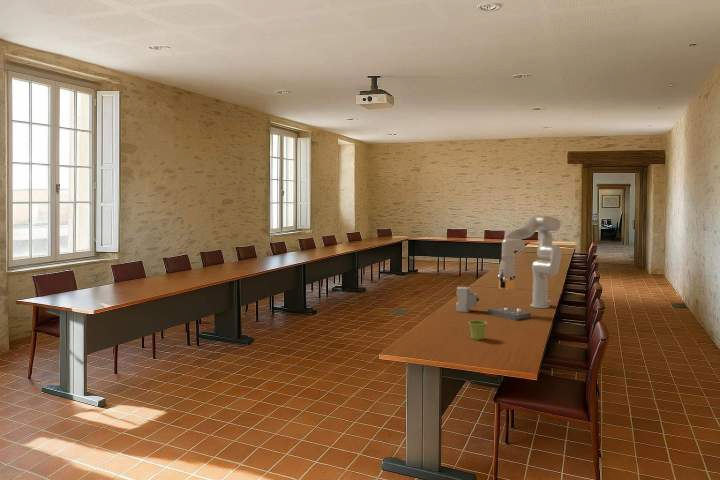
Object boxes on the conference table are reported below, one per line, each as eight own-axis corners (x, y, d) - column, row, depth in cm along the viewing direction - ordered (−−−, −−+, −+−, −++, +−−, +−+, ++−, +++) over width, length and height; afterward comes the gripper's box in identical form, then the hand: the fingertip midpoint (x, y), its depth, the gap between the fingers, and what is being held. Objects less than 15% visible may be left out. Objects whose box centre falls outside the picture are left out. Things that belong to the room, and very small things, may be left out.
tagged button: (505, 313, 348) (506, 307, 347) (508, 313, 346) (509, 308, 345) (503, 313, 346) (503, 308, 346) (506, 314, 344) (506, 308, 344)
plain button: (518, 313, 339) (518, 308, 339) (521, 314, 337) (521, 309, 337) (515, 314, 338) (516, 308, 338) (519, 315, 336) (519, 309, 336)
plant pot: (466, 339, 284) (466, 323, 283) (470, 335, 293) (470, 319, 292) (484, 341, 280) (485, 325, 280) (488, 337, 289) (488, 321, 288)
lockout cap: (506, 287, 349) (506, 278, 349) (514, 288, 344) (515, 280, 343) (498, 288, 346) (498, 279, 345) (507, 289, 340) (507, 281, 339)
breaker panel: (502, 311, 355) (503, 306, 354) (530, 317, 336) (530, 312, 336) (487, 313, 347) (487, 308, 346) (515, 320, 329) (515, 315, 328)
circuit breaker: (478, 312, 350) (479, 289, 348) (456, 311, 352) (456, 288, 351) (478, 310, 357) (479, 287, 356) (456, 309, 360) (456, 286, 358)
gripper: (512, 257, 351) (511, 285, 352) (493, 259, 341) (492, 287, 343) (521, 259, 345) (520, 287, 346) (502, 260, 335) (501, 289, 337)
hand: (506, 287), depth 344 cm, fingers closed on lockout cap, 7 cm apart
